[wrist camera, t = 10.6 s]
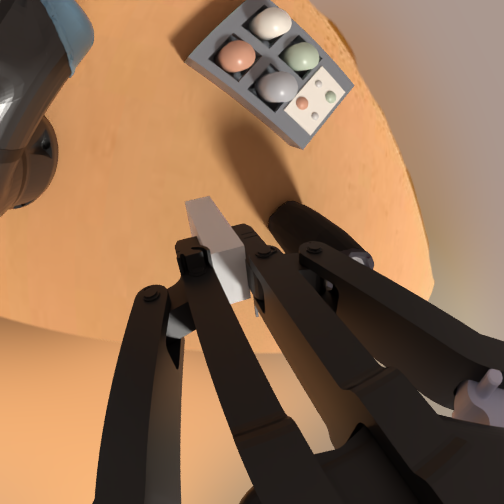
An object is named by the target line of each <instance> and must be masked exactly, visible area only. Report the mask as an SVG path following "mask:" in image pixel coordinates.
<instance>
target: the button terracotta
mask: <svg viewBox="0 0 504 504" xmlns="http://www.w3.org/2000/svg"><path fill="white" fill-rule="evenodd" d="M254 61H255V51H254V49H253V47H252V46H251V45H250V44H249V43H247V42H245V41H241V40H236V41H232V42H230V43H229V44H227V45H226V46H225V47H223V48H222V49H221V50H219V51H218V53H217V54H216V56H215V64H216V65H217V66H218V67H219V68H221V69H222V70H223V71H225V72H226V73H227V74H234V73H237V72H239V71H242V70H244V69H247V68H249V67H250V66H251V65H252V64H253V63H254Z"/></svg>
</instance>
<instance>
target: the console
mask: <svg viewBox="0 0 504 504" xmlns="http://www.w3.org/2000/svg"><path fill="white" fill-rule="evenodd" d="M270 7H277V8H279V7H278V6H276V5H275V4H274V3H273V2H272V1H270V0H246V1H245V2H244V3H242V4H241V5H240V6H239V7H238V8H237V9H235V10H234V11H233V12H232V13H231V14H230V15H229V16H228V17H227V18H226V19H224V20H223V21H222V22H221V23H220V24H219V25H218V26H217V27H216V28H215V29H214V30H213V31H212V32H211V33H210V34H209V35H208V36H207V37H206V38H205V39H204V40H203V41H202V42H201V43H200V44H199V45H198V46H197V47H196V48H195V49H194V51H193V52H192V53H191V54H190V55H189V56H188V57H187V59H186V60H185V61H184V63H186V64H187V65H189V66H190V67H192V68H193V69H194V70H196V71H197V72H199V73H200V74H202V75H203V76H204V77H206V78H207V79H208V80H210V81H211V82H213V83H214V84H215V85H217V86H218V87H219V88H221V89H222V90H223V91H225V92H226V93H227V94H229V95H230V96H231V97H232V98H234V99H235V100H236V101H238V102H239V103H240V104H241V105H243V106H244V107H245V108H246V109H248V110H249V111H250V112H251V113H252V114H254V115H255V116H256V117H257V118H259V119H260V120H261V121H262V122H263V123H264V124H266V125H267V126H268V127H269V128H270V129H272V130H273V131H274V132H275V133H276V134H277V135H278V136H280V137H281V138H282V139H283V140H284V141H285V142H286V143H287V144H289V145H290V146H293V147H296V148H299V149H302V150H303V149H304V148H305V147H306V145H307V144H308V143H309V142H310V140H311V139H312V138H313V136H314V135H315V134H316V133H317V131H318V130H319V129H320V128H321V126H322V125H323V124H324V123H325V121H326V120H327V119H328V118H329V116H330V115H331V114H332V113H333V111H334V110H335V109H336V108H337V106H338V105H339V104H340V103H341V101H342V100H343V99H344V98H345V97H346V95H347V94H348V93H349V92H350V90H351V89H352V88H353V87H354V84H353V83H352V82H351V81H350V79H349V78H348V77H347V76H346V75H345V73H344V72H343V71H342V70H341V69H340V68H339V66H338V65H337V64H336V63H335V62H334V61H333V60H332V59H331V58H330V56H329V55H328V54H327V53H326V52H325V51H324V50H323V49H322V48H321V47H320V46H319V45H318V44H317V43H316V42H315V41H314V40H313V39H312V38H311V37H310V36H309V35H308V34H307V33H306V32H305V31H304V30H303V29H302V28H301V27H300V26H299V25H298V24H297V23H296V22H295V21H294V20H293V19H291V21H292V25H291V28H290V30H289V31H288V32H286V33H284V34H282V35H280V36H278V37H275V38H273V39H271V40H268V41H262V40H259V39H257V38H256V37H255V36H253V35H252V34H251V33H250V30H249V23H250V21H251V20H252V19H253V18H254V17H255V16H257V15H258V14H260V13H261V12H262V11H264V10H265V9H267V8H270ZM236 40H241V41H245V42H247V43H249V44H250V45H251V46H252V47H253V49H254V51H255V61H254V63H253V64H252V65H251V66H250V67H249V68H247V69H244V70H242V71H239V72H237V73H234V74H227V73H226V72H225V71H223V70H222V69H221V68H219V67H218V66H217V65H216V64H215V56H216V54H217V53H218V51H219V50H221V49H222V48H223V47H225V46H226V45H227V44H229V43H230V42H232V41H236ZM301 42H307V43H310V44H311V45H313V46H314V47H315V48H316V49H317V51H318V53H319V62H318V64H317V66H316V67H315V68H313V69H309V70H302V71H296V72H294V71H293V70H292V69H291V68H290V67H289V66H288V65H287V64H286V63H285V62H283V61H282V60H281V59H280V58H279V54H280V53H281V52H282V51H283V50H284V49H285V48H286V47H289V46H292V45H295V44H298V43H301ZM280 71H284V72H288V73H290V74H291V75H292V76H293V77H294V78H295V79H296V81H297V84H298V91H297V94H296V96H295V97H294V98H293V99H292V100H291V101H288V102H265V101H263V100H261V99H260V98H259V97H258V96H257V94H256V91H255V84H256V82H257V80H258V79H259V78H260V77H261V76H263V75H266V74H270V73H275V72H280Z"/></svg>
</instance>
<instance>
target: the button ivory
mask: <svg viewBox="0 0 504 504" xmlns="http://www.w3.org/2000/svg"><path fill="white" fill-rule="evenodd" d="M291 25H292V21H291V18H290V16H289V15H288V13H287V12H285V11H284V10H283V9H280V8H277V7H270V8H267V9H265V10H264V11H262V12H261V13H260V14H258V15H257V16H255V17H254V18H253V19H252V20H251V21H250V23H249V30H250V33H251V34H252V35H253V36H255V37H256V38H257V39H259V40H262V41H268V40H271V39H273V38H275V37H278V36H280V35H282V34H284V33H286V32H288V31H289V30H290V28H291Z"/></svg>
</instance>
